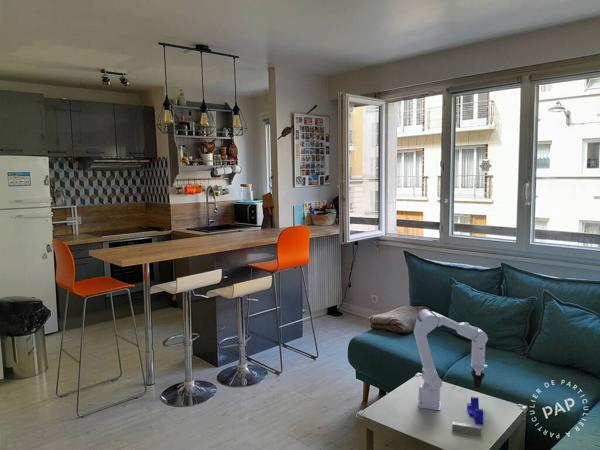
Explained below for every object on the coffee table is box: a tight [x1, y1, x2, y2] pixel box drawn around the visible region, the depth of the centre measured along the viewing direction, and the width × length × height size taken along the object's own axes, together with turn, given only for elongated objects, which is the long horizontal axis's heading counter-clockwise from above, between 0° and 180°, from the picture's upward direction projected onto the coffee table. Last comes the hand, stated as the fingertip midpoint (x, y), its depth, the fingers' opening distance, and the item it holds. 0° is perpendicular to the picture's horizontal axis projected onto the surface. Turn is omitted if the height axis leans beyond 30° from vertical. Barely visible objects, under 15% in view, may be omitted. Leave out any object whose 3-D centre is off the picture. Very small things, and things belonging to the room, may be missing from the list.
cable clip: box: [466, 396, 484, 425], centre depth 198 cm, size 12×4×6 cm, turn 169°
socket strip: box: [451, 421, 482, 437], centre depth 187 cm, size 11×2×3 cm, turn 70°
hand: (477, 383), depth 209 cm, fingers open, 6 cm apart
